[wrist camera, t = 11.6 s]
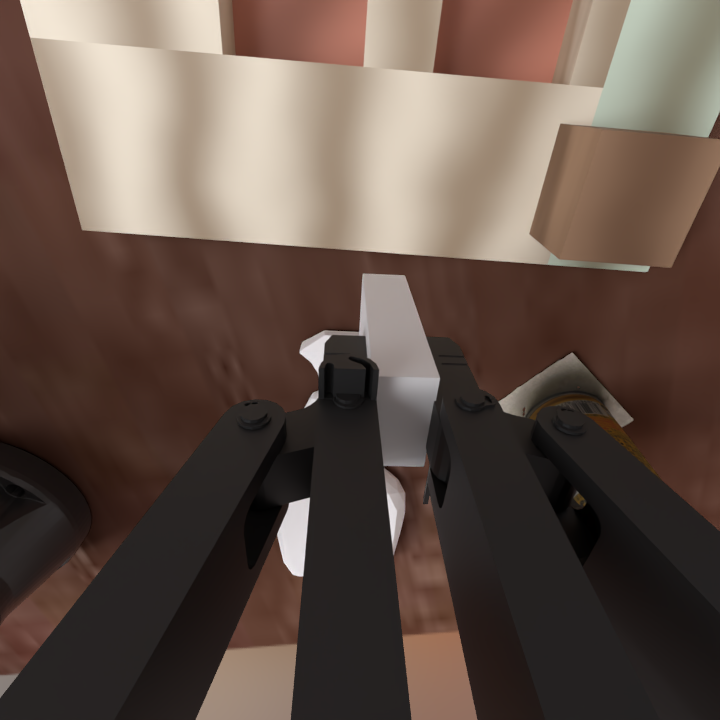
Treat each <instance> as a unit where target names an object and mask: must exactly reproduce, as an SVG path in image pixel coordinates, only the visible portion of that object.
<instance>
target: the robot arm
mask: <svg viewBox="0 0 720 720" xmlns="http://www.w3.org/2000/svg"><path fill="white" fill-rule="evenodd" d="M426 452H427V455H428V459H429V463H430V466H429V471H428V477H427V482H426V487H425V492H424V499H423V504H428V500H429V496H430V497H431V502H432V507H433V512H434V516H435V521H436V526H437V530H438V535H439V540H440V545H441V549H442V554H443V559H444V564H445V568H446V573H447V578H448V582H449V587H450V592H451V597H452V601H453V606H454V611H455V615H456V620H457V625H458V630H459V634H460V639H461V644H462V648H463V653H464V658H465V662H466V667H467V671H468V677H469V681H470V686H471V690H472V696H473V700H474V705H475V710H476V714H477V719H478V720H720V531H719V530H717V529H716V528H715V527H714V526H713V525H712V524H711V523H709V522H708V521H707V520H706V519H705V518H704V517H703V516H701V515H700V514H699V513H698V512H697V511H696V510H695V509H694V508H692V507H691V506H690V505H689V504H688V503H687V502H686V501H684V500H683V499H682V498H681V497H680V496H679V495H678V494H677V493H675V492H674V491H673V490H672V489H671V488H670V487H669V486H667V485H666V484H665V483H664V482H663V481H662V480H661V479H659V478H658V477H657V476H656V475H655V474H654V473H653V472H652V471H650V470H649V469H648V468H647V467H646V466H645V465H644V464H642V463H641V462H640V461H639V460H638V459H637V458H636V457H635V456H633V455H632V454H631V453H630V452H629V451H628V450H627V449H625V448H624V447H623V446H622V445H621V444H620V443H619V442H618V441H616V440H615V439H614V438H613V437H612V436H611V435H610V434H608V433H607V432H606V431H605V430H604V429H603V428H602V427H600V426H599V425H598V424H597V423H596V422H595V421H594V420H592V419H591V418H589V417H588V416H586V415H585V414H583V413H581V412H579V411H576V410H574V409H572V408H568V407H562V406H548V407H545V408H542V409H541V410H540V411H539V412H538V413H537V416H536V419H535V420H533V419H529V418H525V417H520V416H516V415H512V414H509V413H506V412H504V411H503V409H502V407H501V405H500V403H499V402H498V401H497V400H496V398H495V397H494V396H492V395H491V394H489V393H487V392H486V391H483V390H480V389H479V387H478V385H477V383H476V381H475V379H474V376H473V374H472V372H471V370H470V368H469V366H467V361H466V359H465V358H464V355H463V353H462V351H461V349H460V346H458V345H457V344H456V343H455V342H453V341H452V340H451V339H450V338H444V337H426V336H425V333H424V330H423V327H422V324H421V321H420V318H419V315H418V312H417V309H416V306H415V304H414V301H413V298H412V295H411V292H410V289H409V286H408V283H407V280H406V277H405V275H384V274H363V278H362V294H361V311H360V327H359V336H353V335H332V336H331V337H330V338H329V339H328V340H327V341H326V342H325V346H324V358H323V361H322V362H321V364H320V366H319V386H318V399H317V400H316V401H315V402H314V403H313V404H311V405H310V406H308V407H306V408H303V409H300V410H297V411H292V412H287V413H285V412H284V410H283V408H282V407H280V406H279V405H278V404H277V403H274V402H271V401H268V400H256V399H255V400H249V401H243V402H241V403H239V404H236V405H234V406H232V407H231V408H230V409H229V410H228V411H226V412H225V413H224V415H223V416H222V417H221V418H220V420H219V421H218V422H217V424H216V425H215V426H214V427H213V429H212V430H211V431H210V432H209V434H208V435H207V436H206V437H205V439H204V440H203V441H202V443H201V444H200V445H199V446H198V448H197V449H196V450H195V451H194V453H193V454H192V455H191V457H190V458H189V459H188V460H187V462H186V463H185V464H184V465H183V467H182V468H181V469H180V471H179V472H178V473H177V474H176V476H175V477H174V478H173V479H172V481H171V482H170V483H169V484H168V486H167V487H166V488H165V490H164V491H163V492H162V493H161V495H160V496H159V497H158V498H157V500H156V501H155V502H154V504H153V505H152V506H151V507H150V509H149V510H148V511H147V512H146V514H145V515H144V516H143V517H142V519H141V520H140V521H139V523H138V524H137V525H136V526H135V528H134V529H133V530H132V531H131V533H130V534H129V535H128V537H127V538H126V539H125V540H124V542H123V543H122V544H121V545H120V547H119V548H118V549H117V551H116V552H115V553H114V554H113V556H112V557H111V558H110V559H109V561H108V562H107V563H106V564H105V566H104V567H103V568H102V570H101V571H100V572H99V573H98V575H97V576H96V577H95V578H94V580H93V581H92V582H91V584H90V585H89V586H88V587H87V589H86V590H85V591H84V592H83V594H82V595H81V596H80V597H79V599H78V600H77V601H76V603H75V604H74V605H73V606H72V608H71V609H70V610H69V611H68V613H67V614H66V615H65V617H64V618H63V619H62V620H61V622H60V623H59V624H58V625H57V627H56V628H55V629H54V631H53V632H52V633H51V634H50V636H49V637H48V638H47V639H46V641H45V642H44V643H43V644H42V646H41V647H40V648H39V650H38V651H37V652H36V653H35V655H34V656H33V657H32V658H31V660H30V661H29V662H28V664H27V665H26V666H25V667H24V669H23V670H22V671H21V672H20V674H19V675H18V676H17V678H16V679H15V680H14V682H13V683H12V684H11V685H10V687H9V688H8V689H7V690H6V691H5V693H4V694H3V695H2V697H1V698H0V720H196V717H197V715H198V713H199V710H200V708H201V706H202V704H203V701H204V699H205V697H206V694H207V692H208V690H209V688H210V685H211V683H212V681H213V679H214V676H215V674H216V672H217V669H218V667H219V665H220V663H221V660H222V658H223V656H224V654H225V651H226V649H227V647H228V645H229V642H230V640H231V638H232V635H233V633H234V631H235V629H236V626H237V624H238V622H239V619H240V617H241V615H242V613H243V610H244V608H245V606H246V604H247V601H248V599H249V597H250V594H251V592H252V590H253V588H254V585H255V583H256V581H257V579H258V576H259V574H260V572H261V569H262V567H263V565H264V563H265V560H266V558H267V556H268V554H269V551H270V549H271V547H272V544H273V542H274V540H275V538H276V535H277V533H278V531H279V529H280V526H281V524H282V522H283V519H284V517H285V515H286V513H287V510H288V507H289V503H291V502H295V501H299V500H302V499H306V498H310V503H309V514H308V526H307V538H306V549H305V561H304V573H303V584H302V596H301V608H300V619H299V631H298V643H297V654H296V666H295V678H294V690H293V701H292V712H291V720H411V711H410V702H409V693H408V684H407V675H406V666H405V656H404V647H403V638H402V629H401V620H400V611H399V601H398V592H397V583H396V574H395V565H394V556H393V547H392V537H391V528H390V519H389V510H388V501H387V492H386V482H385V473H384V466H412V467H424V463H425V458H426ZM576 491H578V493H579V494H580V495H581V496H582V497H583V498H584V499H585V500H586V501H587V502H586V504H585V506H584V507H582V506H580V505H579V504H578V503H577V502H576V501H575V500H574V498H573V497H574V495H575V493H576ZM90 526H91V513H90V509H89V507H88V504H87V502H86V500H85V498H84V497H83V495H82V494H81V492H80V491H79V490H78V489H77V487H76V486H75V485H74V484H73V483H72V482H71V481H70V480H69V479H68V478H67V477H65V476H64V475H63V474H62V473H61V472H59V471H58V470H57V469H55V468H54V467H52V466H51V465H49V464H48V463H46V462H45V461H43V460H41V459H39V458H37V457H36V456H34V455H32V454H30V453H27V452H25V451H23V450H21V449H18V448H16V447H13V446H10V445H7V444H4V443H1V442H0V625H1V624H2V622H3V621H4V619H5V618H6V617H7V616H8V615H9V614H10V613H11V612H12V611H13V610H14V609H15V608H16V607H17V606H19V605H20V604H21V603H22V602H23V601H24V600H25V599H26V598H27V597H28V596H30V595H31V594H32V593H33V592H34V591H35V590H36V589H37V588H38V587H39V586H40V585H42V584H43V583H44V582H45V581H46V580H47V579H48V578H49V577H50V576H51V575H52V574H53V573H54V572H55V571H56V570H58V569H59V568H60V567H62V566H63V565H64V564H66V563H67V562H68V561H69V560H70V559H71V558H72V557H73V555H74V554H75V553H76V551H77V550H78V548H79V546H80V545H81V543H82V542H83V540H84V539H85V537H86V535H87V534H88V532H89V530H90Z"/></svg>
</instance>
